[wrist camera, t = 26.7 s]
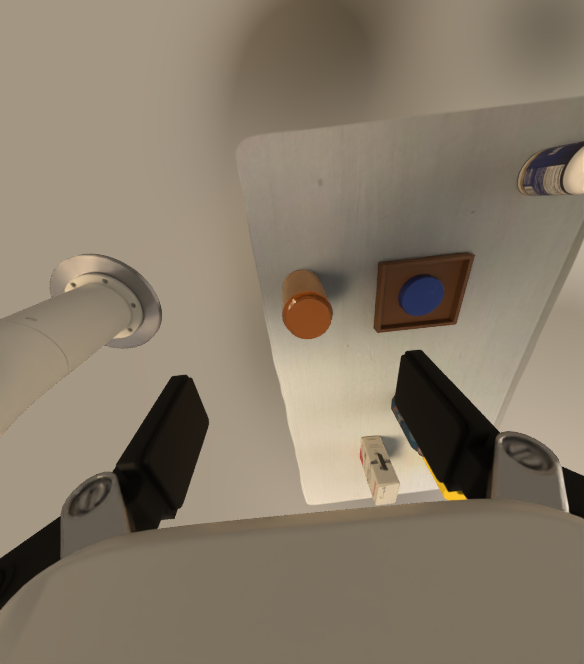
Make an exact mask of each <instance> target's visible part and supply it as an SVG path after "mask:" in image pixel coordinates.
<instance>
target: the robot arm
mask: <svg viewBox="0 0 584 664" xmlns="http://www.w3.org/2000/svg"><path fill="white" fill-rule="evenodd" d="M142 320H143V311H142V307H141V304H140V302H139V300H138V299H137V297H136V295H135V294H134V293H133V292H132V291H131V290H130V289H129V288H128V287H127V286H126V285H125V284H123V283H122V282H120V281H119V280H117V279H115V278H113V277H111V276H108V275H104V274H100V273H86V274H82V275H79V276H77V277H74V278H73V279H72V280H70V281H69V283H68V284H67V285H66V288H65V292H64V293H63V294H60V295H58V296H55V297H53V298H51V299H48V300H46V301H43V302H41V303H39V304H36V305H34V306H32V307H29V308H27V309H24V310H22V311H19V312H17V313H15V314H12V315H10V316H7V317H5V318H3V319H0V437H1V436H2V435H3V433H4V432H5V431H6V430H7V429H8V428H9V427H10V426H11V424H12V423H13V422H14V421H15V420H16V419H17V418H18V417H19V416H20V415H21V414H22V413H23V412H24V411H25V410H26V409H27V408H28V407H29V406H30V405H32V404H33V403H34V402H35V401H36V400H37V399H38V398H39V397H41V396H42V395H43V394H44V393H45V392H46V391H48V390H49V389H50V388H51V387H53V386H54V385H55V384H56V383H58V381H60V380H61V379H63V378H64V377H65V376H66V375H68V374H69V373H70V372H71V371H73V370H74V369H75V368H76V367H78V366H79V365H80V364H81V363H83V362H84V361H85V360H86V359H88V358H89V357H90V356H91V355H93V354H94V353H95V352H96V351H97V350H99V349H100V348H101V347H102V346H104V345H105V344H106V343H108V342H109V341H110V340H111V339H115V338H124V337H127V336H130V335H131V334H133V333H134V332H135V331H136V330H137V329H138V328H139V327H140V325H141V323H142ZM395 405H396V407H397V409H398V411H399V413H400V415H401V416H402V418H403V420H404V422H405V424H406V425H407V427H408V429H409V431H410V432H411V434H412V436H413V438H414V440H415V441H416V443H417V445H418V447H419V449H420V450H421V452H422V454H423V456H424V457H425V459H426V461H427V463H428V465H429V466H430V468H431V470H432V472H433V474H434V475H435V477H436V479H437V480H438V481H439V482H440V483H443V484H444V486H445V487H446V489H447V491H448V492H455V491H462V492H463V494H464V496H465V497H466V498H467V499H465V500H451V501H438V502H424V503H412V504H401V505H391V506H379V507H368V508H357V509H346V510H336V511H325V512H315V513H305V514H295V515H284V516H274V517H263V518H253V519H244V520H234V521H224V522H215V523H204V524H195V525H187V526H178V527H170V528H161V529H157V528H158V526H159V524H160V521H161V520H165V519H175V516H176V513H177V510H178V509H179V508H181V507H182V505H183V503H184V500H185V497H186V493H187V490H188V487H189V484H190V481H191V478H192V475H193V472H194V469H195V466H196V463H197V460H198V457H199V453H200V451H201V448H202V445H203V442H204V438H205V435H206V432H207V429H208V425H209V419H208V416H207V414H206V411H205V409H204V406H203V404H202V401H201V399H200V396H199V394H198V391H197V389H196V386H195V384H194V382H193V379H192V378H189V377H188V376H187V375H179V376H172V377H171V379H170V380H169V382H168V383H167V385H166V386H165V388H164V389H163V391H162V393H161V394H160V396H159V397H158V399H157V401H156V402H155V404H154V405H153V407H152V408H151V410H150V412H149V413H148V415H147V416H146V418H145V420H144V421H143V423H142V424H141V426H140V427H139V429H138V431H137V432H136V434H135V435H134V437H133V439H132V440H131V442H130V444H129V445H128V446H127V448H126V450H125V451H124V453H123V454H122V456H121V458H120V459H119V461H118V462H117V464H116V467H115V469H114V470H113V472H102V473H99V474H96V475H94V476H92V477H90V478H89V479H87V480H86V481H84V482H83V483H81V484H80V485H79V486H78V487H77V488H76V489H75V490H74V491H73V492H72V493H71V494H70V496H69V497H68V498H67V499H66V501H65V503H64V505H63V507H62V511H61V516H60V517H58V518H57V519H56V520H54V521H53V522H51V523H50V524H48V525H47V526H46V527H44V528H43V529H41V530H40V531H39V532H37V533H36V534H34V535H33V536H31V537H30V538H29V539H27V540H26V541H24V542H23V543H22V544H20V545H19V546H17V547H16V548H14V549H13V550H12V551H10V552H9V553H8V554H6V555H4V556H3V557H2V558H0V664H584V476H583V475H580V474H578V473H576V472H573V471H571V470H569V469H567V468H564V467H562V466H561V464H560V462H559V459H558V458H557V456H556V455H555V454H554V453H553V452H552V451H551V450H550V449H549V448H548V447H547V446H545V445H544V444H543V443H541V442H539V441H538V440H536V439H534V438H532V437H530V436H527V435H525V434H522V433H518V432H511V431H506V432H501V433H500V432H499V431H498V430H497V429H496V428H495V427H494V426H493V425H492V424H491V423H490V421H489V420H488V419H487V418H486V417H485V416H484V415H483V414H482V413H481V412H480V411H479V410H478V409H477V408H476V407H475V406H474V405H473V404H472V403H471V401H470V400H469V399H468V398H467V397H466V396H465V395H464V394H463V393H462V392H461V391H460V390H459V389H458V388H457V387H456V386H455V385H454V384H453V382H452V381H450V380H449V379H448V377H447V376H446V375H445V374H444V373H443V372H442V371H441V370H440V369H439V368H438V367H437V366H436V365H435V364H434V363H433V362H432V361H431V360H430V358H429V357H428V356H427V355H426V354H425V353H424V352H423V351H422V350H412V351H406V352H405V355H402V356H401V361H400V367H399V374H398V380H397V387H396V393H395Z"/></svg>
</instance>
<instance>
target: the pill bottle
mask: <svg viewBox="0 0 584 664" xmlns="http://www.w3.org/2000/svg"><path fill="white" fill-rule="evenodd" d="M518 188H519V190H520V191H521V192H522V193H523V194H525V195H532V196H534V195H573V194H584V141H583V142H578V143H573V144H568V145H563V146H559V147H554V148H549V149H545V150H542V151H540V152H538V153H536V154H535V155H533V156H532V157H531V158H530V159H529V160H528V161H527V162H526V163H525V165H524V166H523V168H522V169H521V171H520V174H519V177H518Z"/></svg>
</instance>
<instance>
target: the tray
mask: <svg viewBox="0 0 584 664" xmlns="http://www.w3.org/2000/svg"><path fill="white" fill-rule="evenodd" d="M474 257H475V255H474V254H470V253H467V252H466V253H457V254H449V255H440V256H431V257H423V258H414V259H405V260H396V261H388V262H379V264H378V277H377V291H376V304H375V317H374V329H375V330H376V332H377V333H380V332H389V331H399V330H408V329H417V328H426V327H436V326H445V325H454V324H456V323H457V319H458V316H459V312H460V308H461V305H462V301H463V297H464V293H465V290H466V286H467V282H468V279H469V275H470V271H471V268H472V264H473V260H474ZM417 275H429V276H432V277H435V278H437V279H438V280H439V281H440V282H441V283H442V285H443V287H444V295H443V299H442V301H441V302H440V304H439V305H438V306H437V307H436V308H435V309H434V310H433V311H432V312H430V313H428V314H426V315H422V316H413V315H410V314H408V313H406V312H405V311H404V310H403V309H402V308H401V307H400V306H399V302H398V295H399V291H400V289H401V287H402V286H403V285H404V284H405V283H406V282H407V281H408V280H409V279H410V278H412V277H414V276H417Z"/></svg>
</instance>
